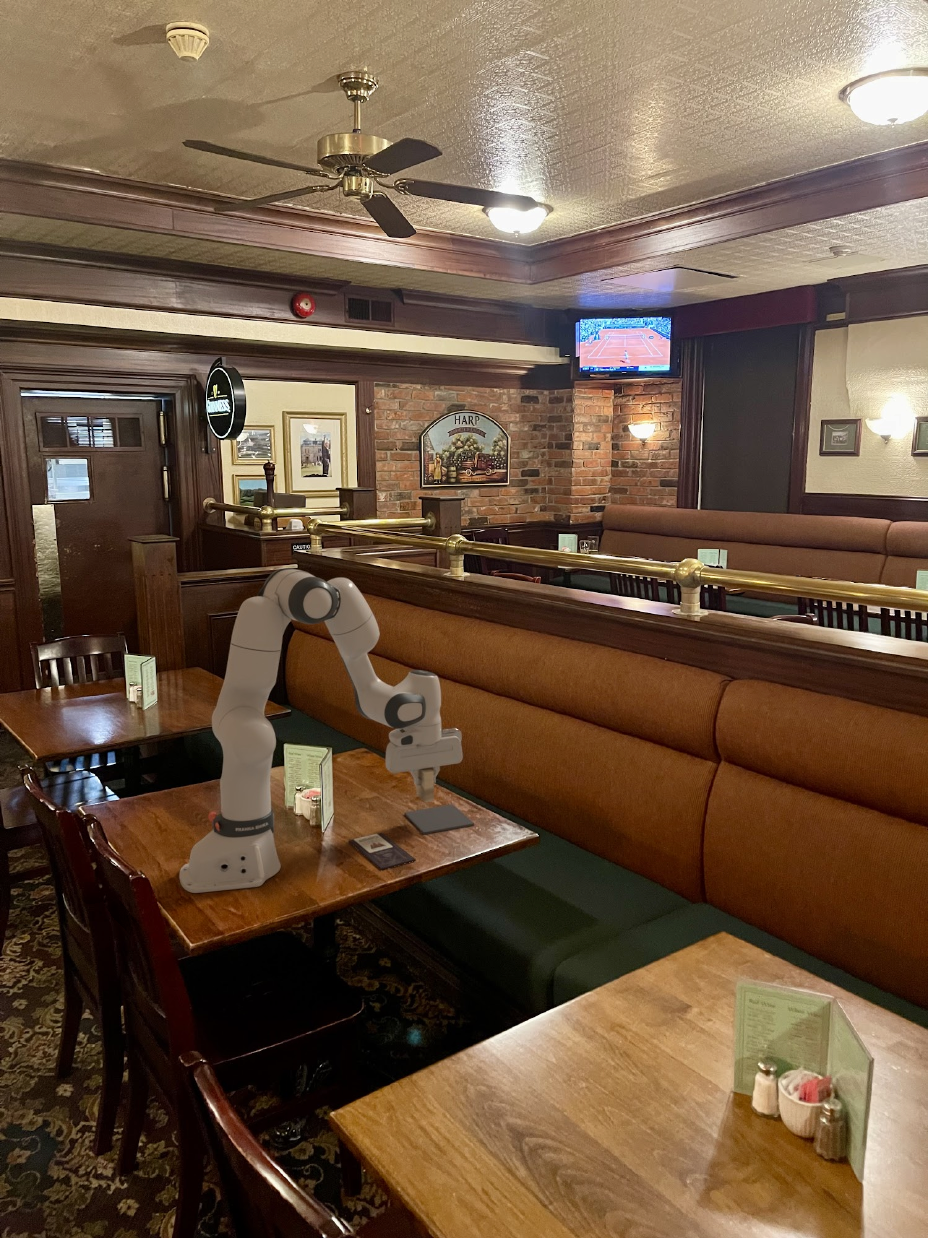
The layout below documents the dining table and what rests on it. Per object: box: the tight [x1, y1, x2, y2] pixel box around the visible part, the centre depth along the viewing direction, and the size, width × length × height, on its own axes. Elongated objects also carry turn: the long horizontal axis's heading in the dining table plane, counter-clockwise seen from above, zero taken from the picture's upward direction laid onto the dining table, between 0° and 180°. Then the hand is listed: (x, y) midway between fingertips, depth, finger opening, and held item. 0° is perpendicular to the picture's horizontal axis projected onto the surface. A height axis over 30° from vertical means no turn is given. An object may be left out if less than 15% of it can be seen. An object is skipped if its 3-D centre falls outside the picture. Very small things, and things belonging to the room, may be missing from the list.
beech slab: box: [415, 768, 435, 803], centre depth 236 cm, size 6×2×8 cm, turn 24°
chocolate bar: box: [348, 832, 417, 871], centre depth 221 cm, size 9×1×18 cm
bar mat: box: [404, 804, 475, 835], centre depth 240 cm, size 14×14×1 cm
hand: (424, 783), depth 236 cm, fingers closed on beech slab, 2 cm apart
